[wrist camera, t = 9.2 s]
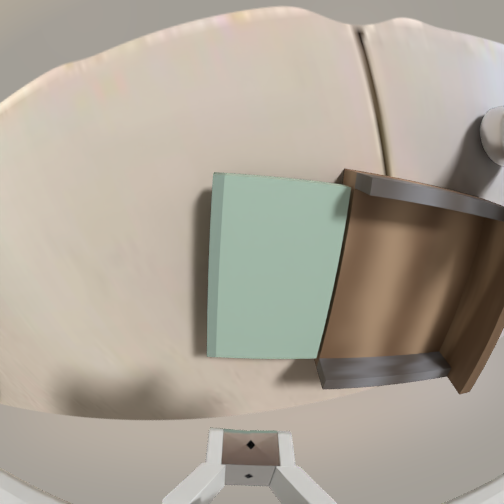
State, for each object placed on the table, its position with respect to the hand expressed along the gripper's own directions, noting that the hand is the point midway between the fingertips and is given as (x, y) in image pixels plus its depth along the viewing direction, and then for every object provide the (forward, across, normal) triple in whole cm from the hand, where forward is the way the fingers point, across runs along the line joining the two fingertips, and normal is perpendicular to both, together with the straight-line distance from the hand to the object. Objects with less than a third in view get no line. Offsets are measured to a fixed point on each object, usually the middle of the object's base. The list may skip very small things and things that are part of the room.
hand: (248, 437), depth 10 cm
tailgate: (+15, -7, 0) cm, 16 cm away
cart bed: (+18, -15, 0) cm, 23 cm away
